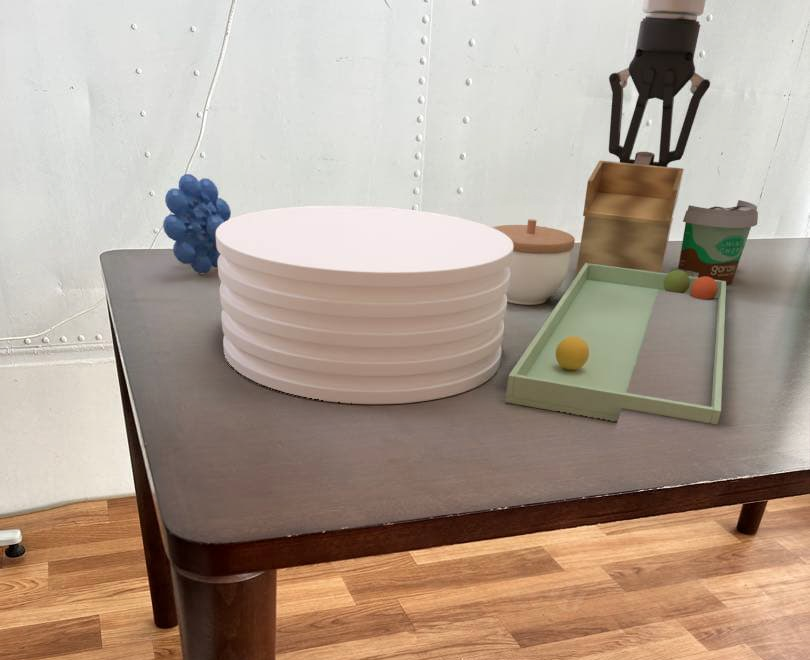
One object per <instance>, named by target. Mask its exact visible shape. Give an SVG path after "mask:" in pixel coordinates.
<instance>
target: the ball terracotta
mask: <svg viewBox="0 0 810 660" xmlns="http://www.w3.org/2000/svg"><path fill="white" fill-rule="evenodd" d="M717 290H718V287H717V283H716V281H715V280H714V279H712V278H711V277H707V276H704V277H700V278H698V279H697V280H695V281H694V283H693V284H692V286H691V294H690V295H691V297H693V298H695V299H699V300H713V299H714V298H715V296H716V294H717Z"/></svg>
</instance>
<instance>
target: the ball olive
mask: <svg viewBox="0 0 810 660" xmlns="http://www.w3.org/2000/svg"><path fill="white" fill-rule="evenodd" d="M667 274H668V275H667V276H666V277H665V279H664V289H665V291H664V292H670V293H679V294H685V292H686V291H687V289H688V287H689V284H690V279H689V276H688V275H687V273H685V272H684V271H682V270H678V269H674V270H672V271H670V272H669V273H667Z"/></svg>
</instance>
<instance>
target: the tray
mask: <svg viewBox="0 0 810 660" xmlns="http://www.w3.org/2000/svg"><path fill="white" fill-rule="evenodd" d="M668 274H669V273H665V272H661V273H659V272H651V271H644V270H636V269H628V268H621V267H613V266H605V265H598V264H589V263H585V265H584V266H583V268H582V269H581V270H580V272H579V273H578V275H577V276H575V277H574V279H573V281H572V282H571V284H570V285H569V286H568V288H567V289H566V291H565V292H564V294H563V295H562V297H561V298H560V300H559V301H558V302H557V304H556V305H555V307H554V308H553V310H552V311H551V312H550V314H549V315H548V317H547V318H546V320H545V322H544V323H543V324H542V326H541V327H540V329H539V330H538V332H537V333H536V334H535V336H534V338H533V339H532V341H530V343H529V345H528V346H527V348H526V349H525V350H524V352H523V353H522V355H521V357H519V359H518V361H517V362H516V364H515V365H514V367H513V368H512V369H511V371H510V373H509V374H508V375H507V376H508V377H507V384H506V393H505V398H504V399H505V401H504V402H505V403H507V404H513V405H518V406H525V407H529V408H535V409H542V410H547V411H553V412H557V411H560V412H559V413H563V412H566V413H565V414H569V413H572V414H571V415H574V414H575V416H580V415H583V416H582V417H585V416H587V417H586V418H591V417H593V418H592V419H597V418H600V419H599V420H602V419H605V420H604V421H608V420H610V421H609V422H614V421H619V419H620V416H621V412H622V409H626V410H631V411H636V412H641V413H649V414H654V415H659V416H666V417H672V418H678V419H684V420H689V421H695V422H701V423H705V424H711V425H718V424H719V421H720V417H721V414H722V399H723V376H724V375H723V373H724V371H723V370H724V346H725V324H726V323H725V321H726V295H727V285H726V281H721V280H715V281H716V283H717V287H718V290H717V294H716V296H715V297H714V298H715V299H717V312H716V313H717V314H716V330H715V345H714V357H713V358H714V359H713V373H712V376H713V377H712V390H711V405H710V406H708V405H703V404H695V403H689V402H684V401H677V400H673V399H666V398H661V397H654V396H649V395H642V394H638V393H637V394H636V393H630V392H628V390H629V387H630V384H631V380H632V378H633V373H634V371H635V368H636V364H637V361H638V358H639V355H640V352H641V349H642V344H643V342H644V338H645V335H646V332H647V330H648V326H649V323H650V319H651V317H652V313H653V309H654V307H655V303H656V301H657V297H658V294H659V291H664V292H666V291H665V289H664V279H665V277H666V276H667V275H668ZM689 279H690V284H689V287H688V289H687V291H686V292H685V293H684V294H687V295H691V286H692V284H693V283H694V281H695V280H697V279H698V277H690V276H689ZM573 336H574V337H579V338H581V339H582V340H584V341H585V342H586V344H587V345H588V348H589V357H588V360H587V362H586V363H585V364H584V365H583V366H582V367H581V368H579V369H576V370H567V369H565V368H563V367H561V366H560V364H559V363H558V362H557V359H556V349H557V346H558V345H559V343H560V342H561V341H562V340H564V339H565V338H567V337H573Z"/></svg>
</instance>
